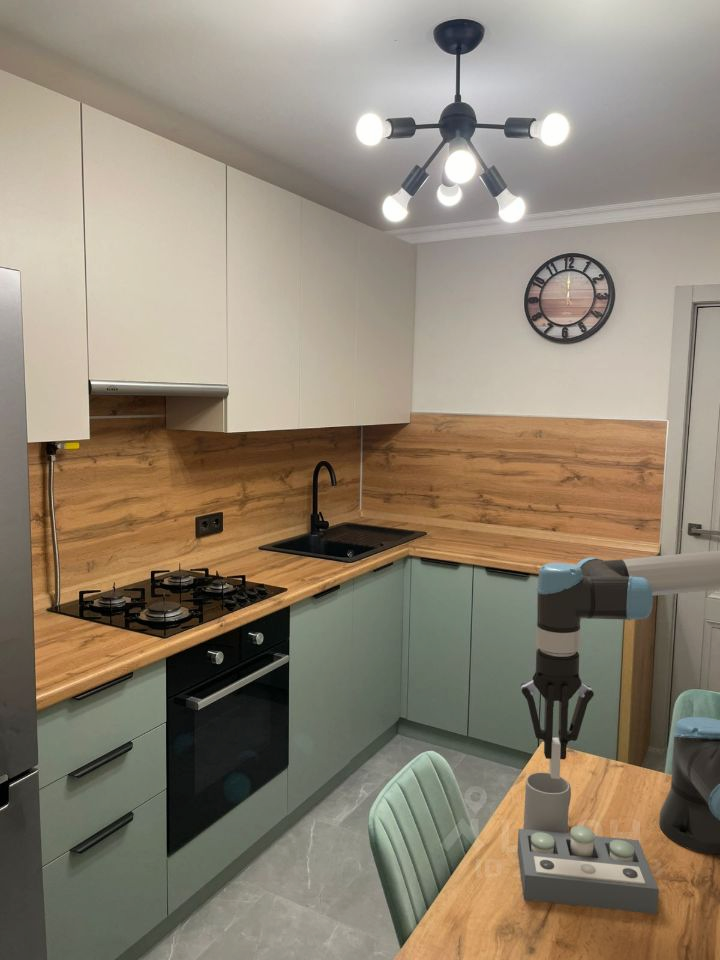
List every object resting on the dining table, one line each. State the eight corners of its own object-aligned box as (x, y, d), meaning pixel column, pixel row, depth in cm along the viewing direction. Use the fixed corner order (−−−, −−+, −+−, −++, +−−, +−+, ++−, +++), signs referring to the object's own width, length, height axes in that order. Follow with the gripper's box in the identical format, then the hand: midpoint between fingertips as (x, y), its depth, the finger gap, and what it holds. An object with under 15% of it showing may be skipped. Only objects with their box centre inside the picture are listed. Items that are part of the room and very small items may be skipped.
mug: (551, 853, 138) (553, 799, 137) (514, 833, 145) (516, 781, 143) (585, 830, 146) (588, 778, 145) (549, 812, 152) (551, 762, 151)
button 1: (552, 855, 136) (553, 833, 135) (554, 869, 131) (556, 846, 131) (529, 852, 136) (530, 831, 136) (531, 866, 132) (532, 844, 132)
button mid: (591, 849, 134) (592, 827, 134) (595, 863, 130) (596, 840, 130) (567, 846, 135) (569, 824, 135) (571, 860, 131) (572, 838, 130)
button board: (637, 862, 136) (638, 840, 135) (657, 914, 122) (658, 889, 122) (517, 850, 139) (518, 828, 138) (523, 899, 125) (525, 874, 125)
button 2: (629, 863, 134) (631, 841, 133) (635, 877, 130) (636, 854, 129) (606, 860, 134) (607, 838, 134) (610, 875, 130) (612, 852, 130)
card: (638, 868, 127) (638, 865, 127) (645, 884, 123) (645, 881, 123) (533, 857, 129) (533, 855, 129) (536, 873, 125) (536, 870, 125)
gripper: (591, 644, 134) (587, 767, 136) (518, 641, 135) (516, 762, 137) (599, 658, 126) (595, 787, 128) (522, 655, 128) (520, 783, 130)
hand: (554, 774), depth 133 cm, fingers closed
